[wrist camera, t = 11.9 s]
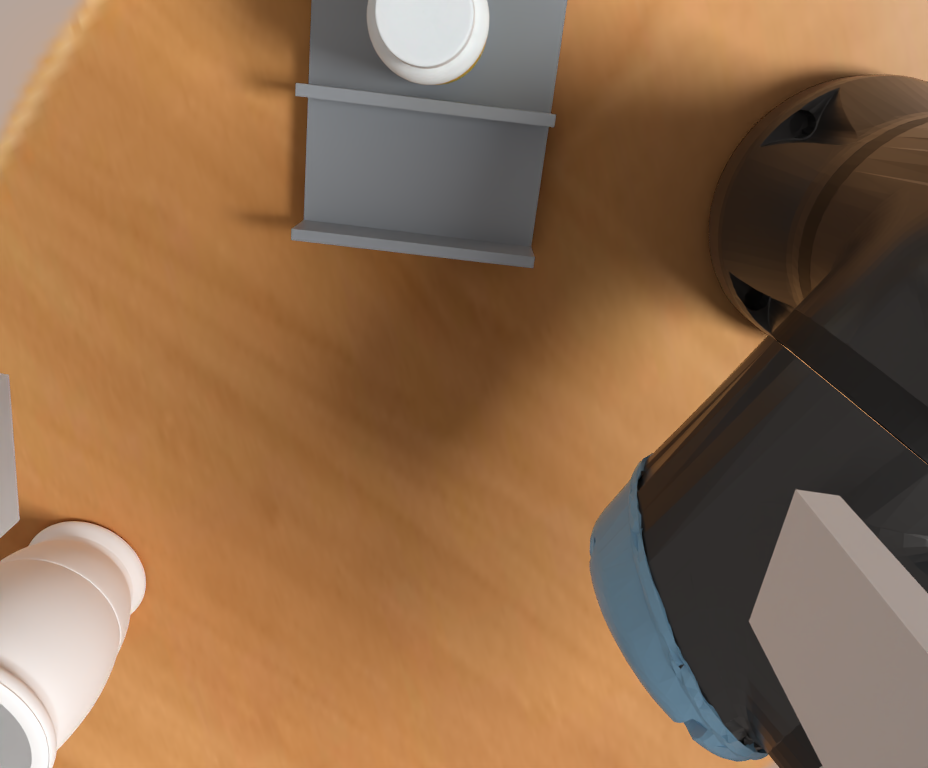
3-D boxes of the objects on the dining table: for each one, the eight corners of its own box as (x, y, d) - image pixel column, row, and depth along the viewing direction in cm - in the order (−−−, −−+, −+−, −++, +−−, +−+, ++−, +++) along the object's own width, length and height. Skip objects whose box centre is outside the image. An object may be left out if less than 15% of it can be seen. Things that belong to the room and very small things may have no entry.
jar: (-15, 526, 51) (-198, 687, 38) (120, 488, 50) (-19, 640, 36) (59, 645, 55) (-83, 833, 41) (187, 612, 54) (84, 794, 40)
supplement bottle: (364, 12, 38) (329, -12, 30) (451, -52, 37) (442, -98, 28) (422, 107, 40) (405, 110, 31) (507, 48, 39) (515, 34, 30)
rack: (594, -204, 36) (608, -240, 32) (528, 252, 44) (533, 268, 40) (325, -239, 36) (306, -281, 32) (307, 227, 44) (291, 239, 40)
